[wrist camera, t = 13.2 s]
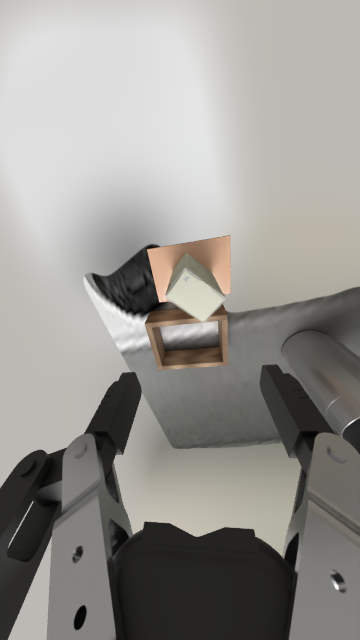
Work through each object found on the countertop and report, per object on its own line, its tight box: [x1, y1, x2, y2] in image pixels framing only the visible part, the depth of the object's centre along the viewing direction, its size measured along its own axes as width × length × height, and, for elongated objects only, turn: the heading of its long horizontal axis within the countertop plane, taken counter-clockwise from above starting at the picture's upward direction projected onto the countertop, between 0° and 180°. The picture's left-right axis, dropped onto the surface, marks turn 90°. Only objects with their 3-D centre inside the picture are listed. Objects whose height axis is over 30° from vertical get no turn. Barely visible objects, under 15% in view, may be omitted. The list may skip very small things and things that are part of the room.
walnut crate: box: [145, 304, 228, 370], centre depth 34 cm, size 15×12×5 cm
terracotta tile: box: [147, 236, 231, 302], centre depth 30 cm, size 14×10×1 cm
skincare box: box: [165, 253, 226, 323], centre depth 24 cm, size 6×4×12 cm
